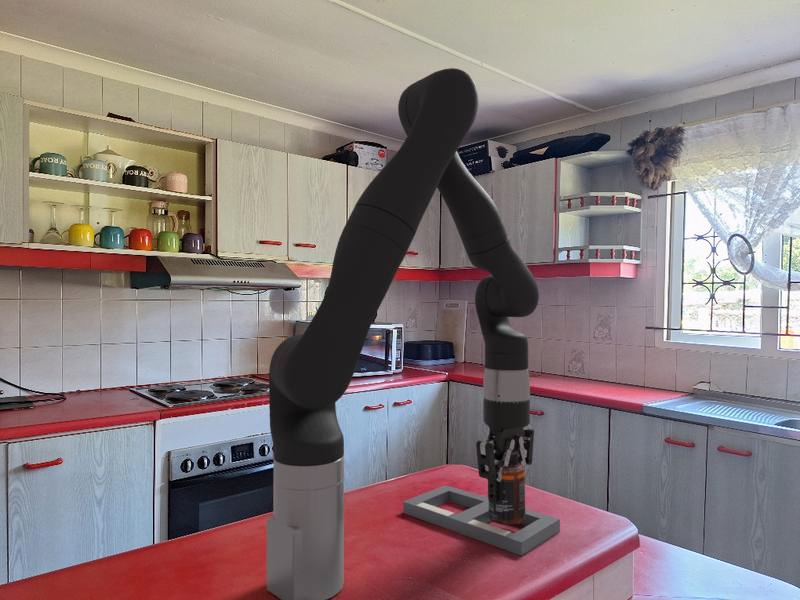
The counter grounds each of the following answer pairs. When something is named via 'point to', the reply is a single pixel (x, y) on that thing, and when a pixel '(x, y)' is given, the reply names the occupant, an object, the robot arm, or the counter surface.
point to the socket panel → (480, 519)
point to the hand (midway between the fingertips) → (506, 497)
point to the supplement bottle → (510, 494)
